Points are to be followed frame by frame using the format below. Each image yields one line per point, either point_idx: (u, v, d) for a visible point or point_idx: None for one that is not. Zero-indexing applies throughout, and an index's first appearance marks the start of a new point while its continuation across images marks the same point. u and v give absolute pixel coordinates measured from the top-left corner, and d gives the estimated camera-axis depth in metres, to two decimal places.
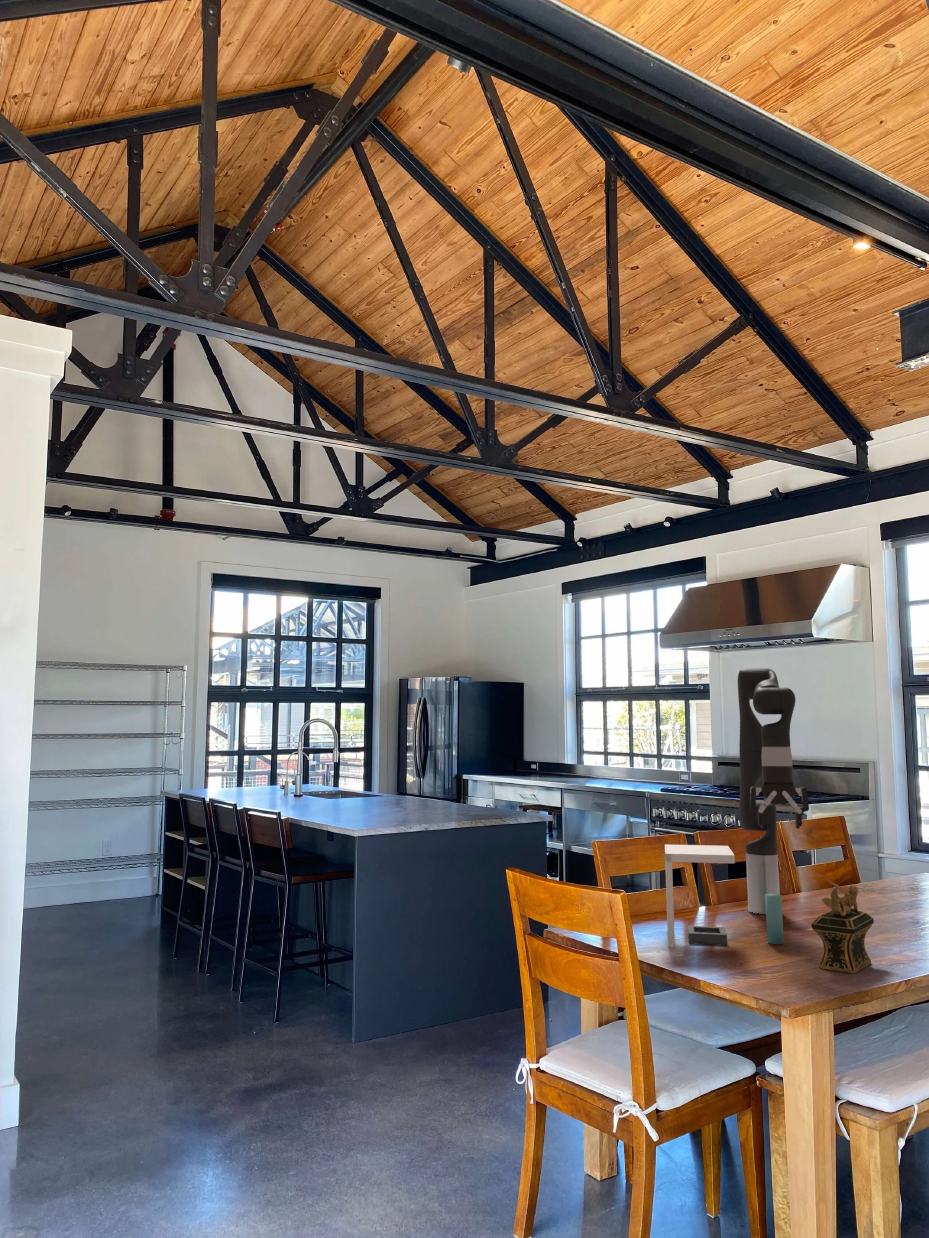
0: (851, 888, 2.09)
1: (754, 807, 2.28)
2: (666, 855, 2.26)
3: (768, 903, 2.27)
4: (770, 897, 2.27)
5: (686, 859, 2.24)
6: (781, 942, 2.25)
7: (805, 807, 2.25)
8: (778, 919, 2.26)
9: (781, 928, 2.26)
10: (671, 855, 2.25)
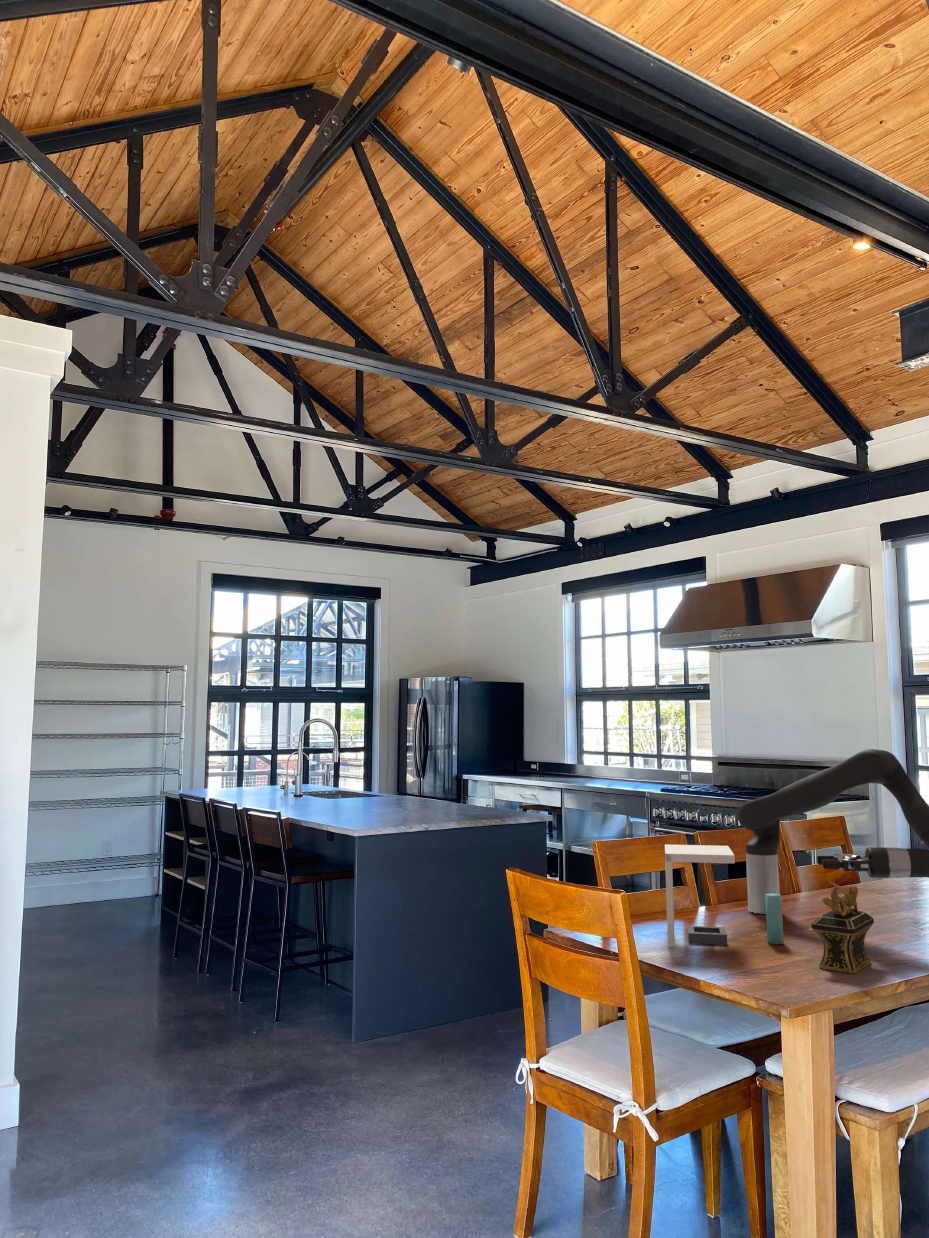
0: (851, 888, 2.09)
1: None
2: (666, 855, 2.26)
3: (768, 903, 2.27)
4: (770, 897, 2.27)
5: (686, 859, 2.24)
6: (781, 942, 2.25)
7: None
8: (778, 919, 2.26)
9: (781, 928, 2.26)
10: (671, 855, 2.25)
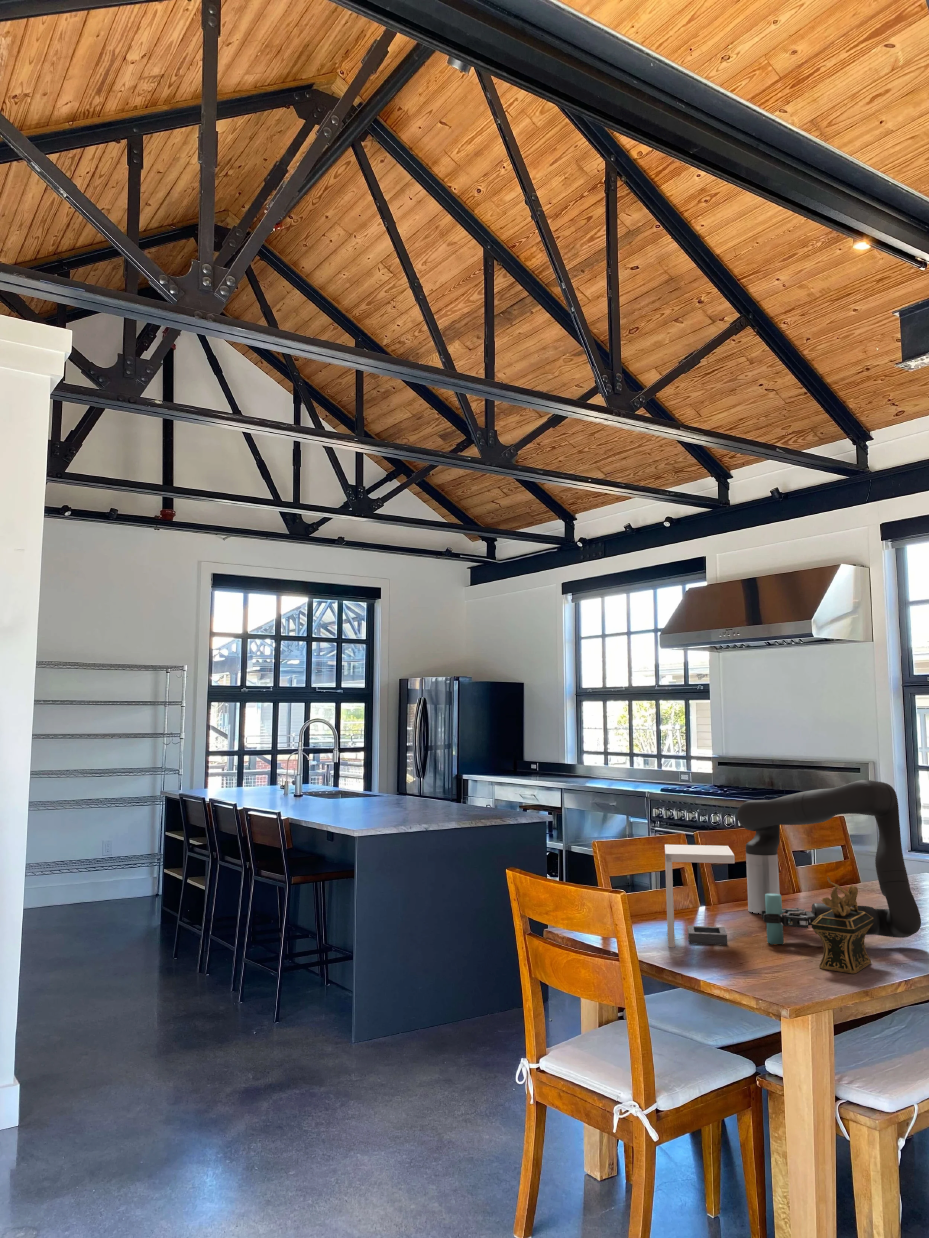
0: (851, 888, 2.09)
1: None
2: (666, 855, 2.26)
3: (768, 903, 2.27)
4: (770, 897, 2.27)
5: (686, 859, 2.24)
6: (781, 942, 2.25)
7: None
8: None
9: (781, 928, 2.26)
10: (671, 855, 2.25)
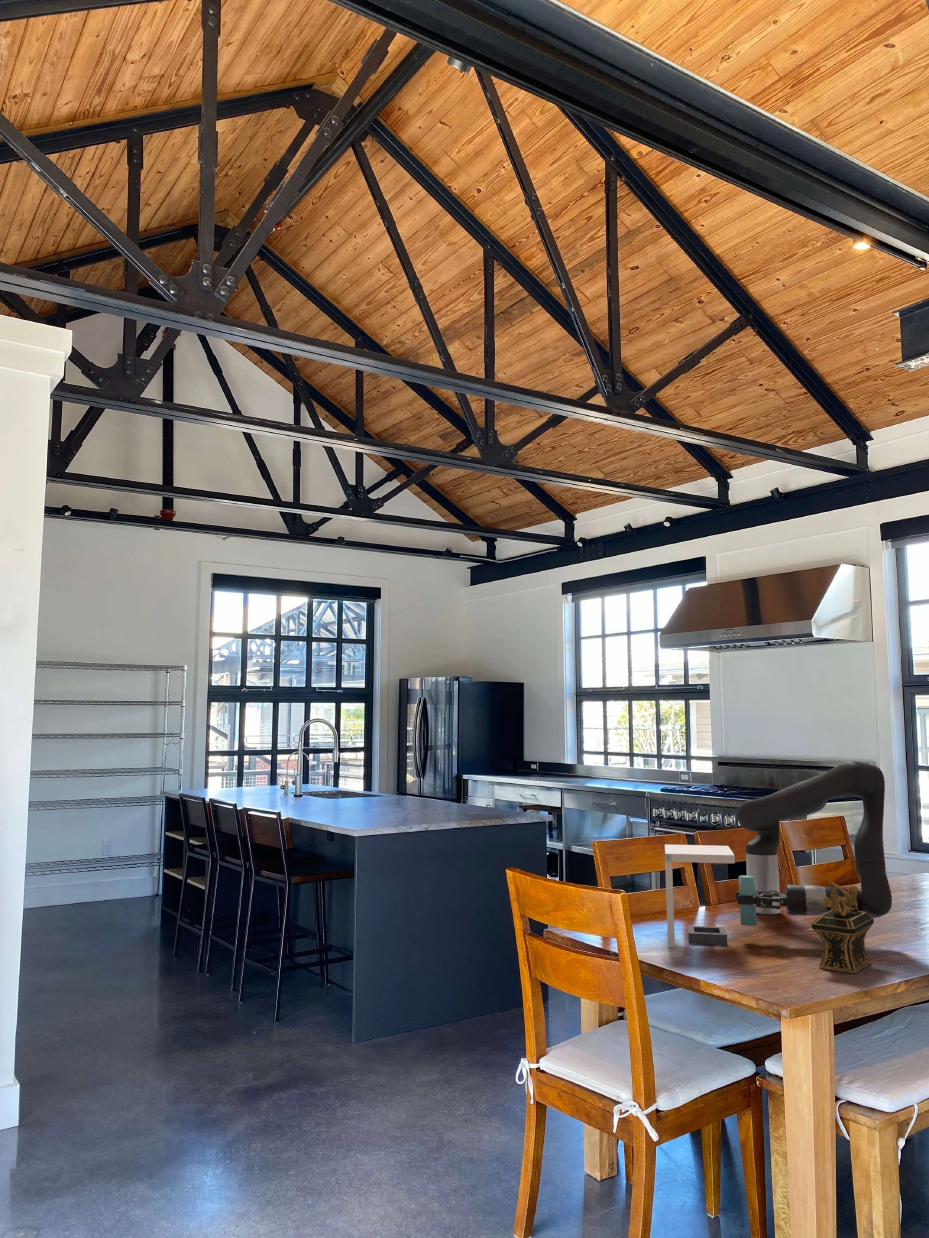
0: (851, 888, 2.09)
1: None
2: (666, 855, 2.26)
3: (741, 885, 2.29)
4: (743, 879, 2.29)
5: (686, 859, 2.24)
6: (754, 923, 2.27)
7: None
8: None
9: (754, 909, 2.28)
10: (671, 855, 2.25)
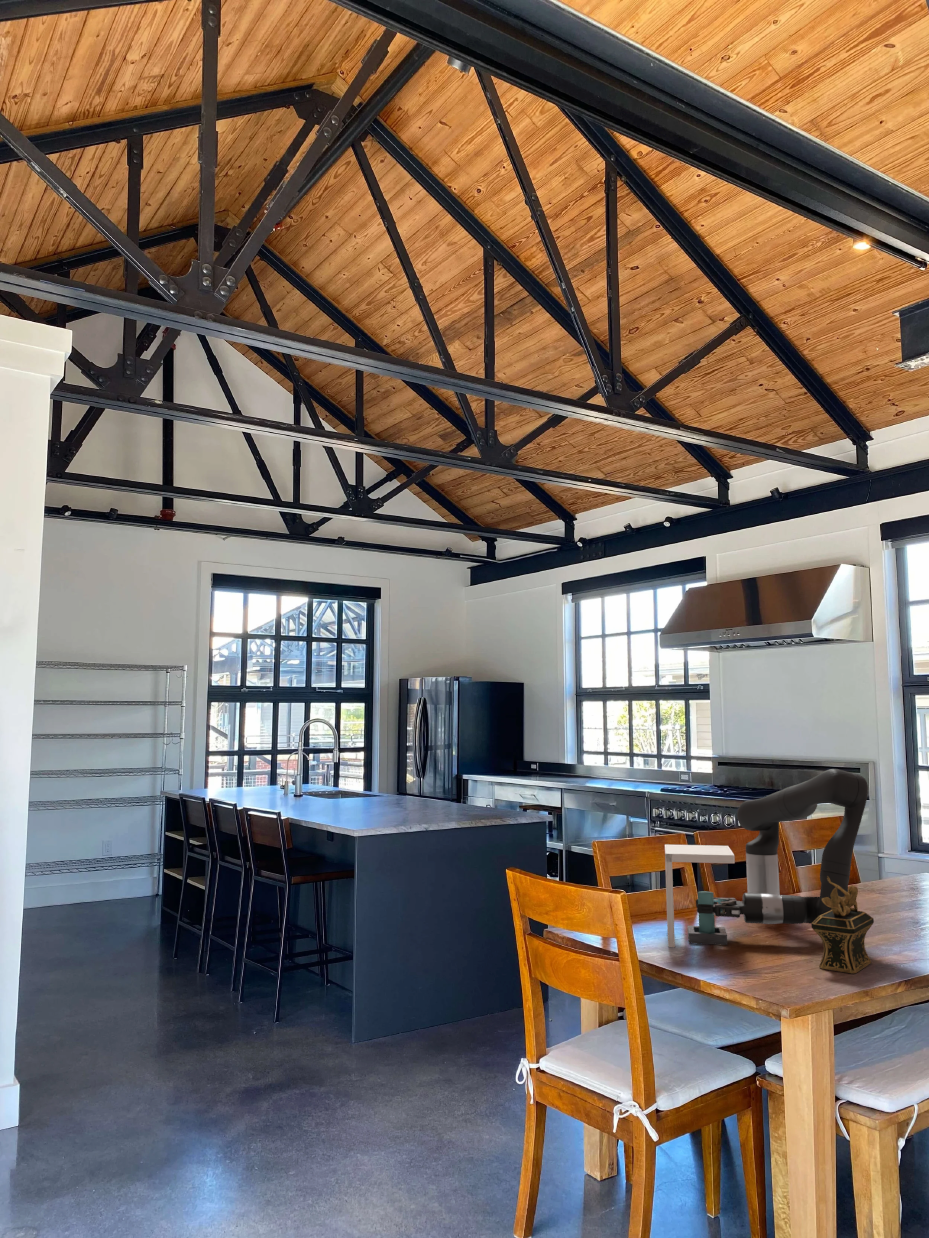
0: (851, 888, 2.09)
1: None
2: (666, 855, 2.26)
3: (700, 901, 2.31)
4: (702, 895, 2.30)
5: (686, 859, 2.24)
6: None
7: None
8: (710, 917, 2.29)
9: (712, 925, 2.29)
10: (671, 855, 2.25)
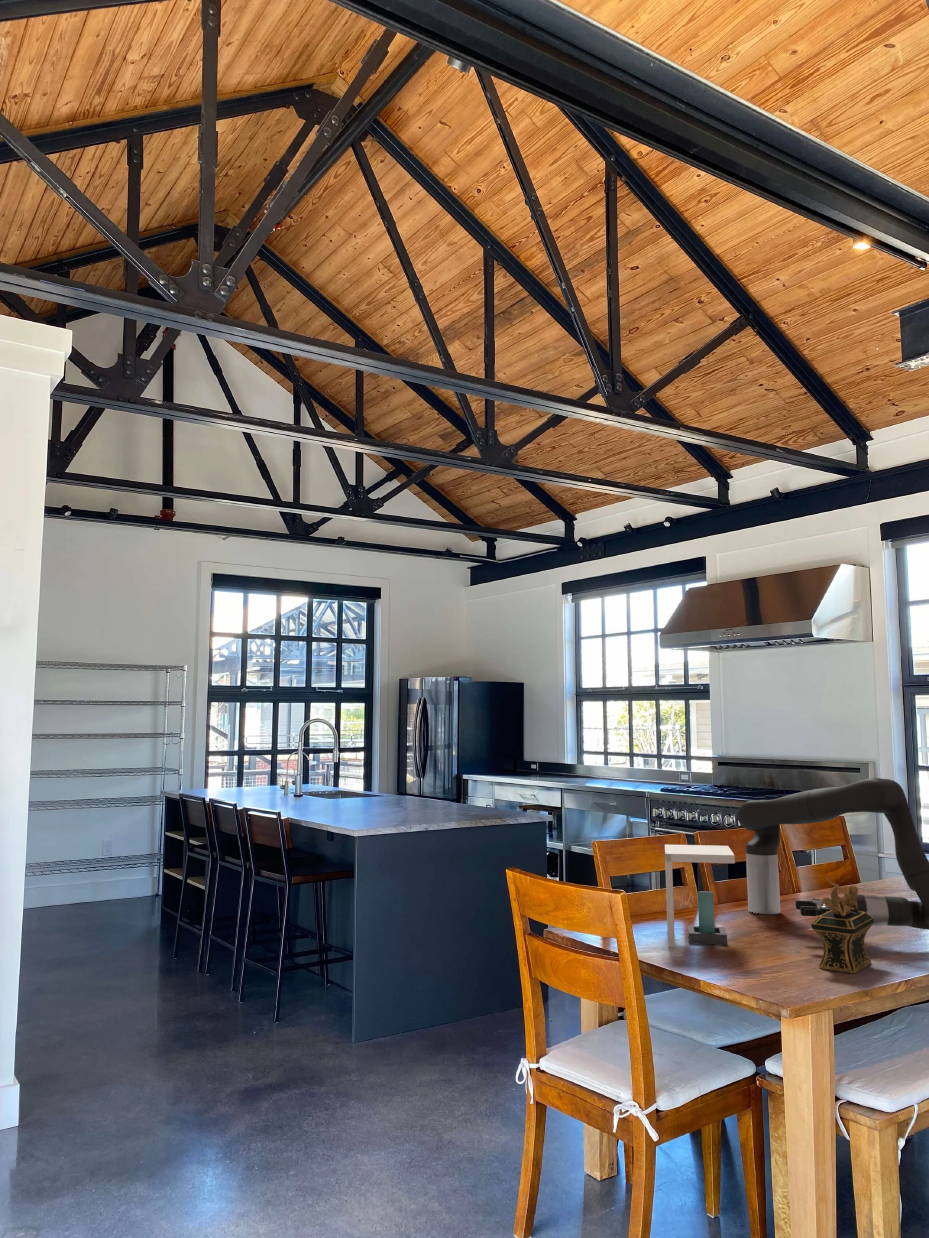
0: (851, 888, 2.09)
1: None
2: (666, 855, 2.26)
3: (700, 901, 2.31)
4: (702, 895, 2.30)
5: (686, 859, 2.24)
6: None
7: (816, 908, 2.31)
8: (709, 916, 2.29)
9: (712, 925, 2.29)
10: (671, 855, 2.25)
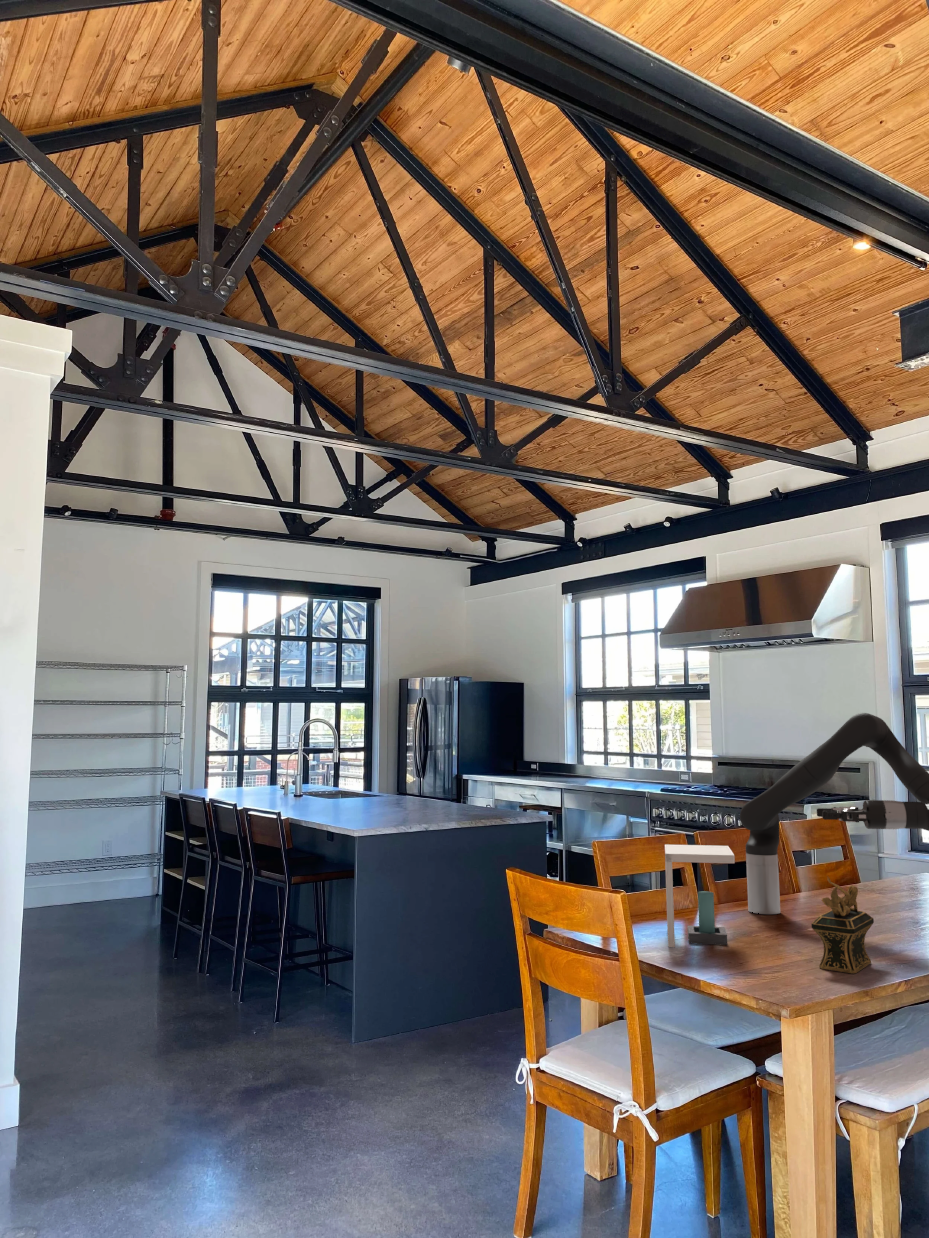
0: (851, 888, 2.09)
1: None
2: (666, 855, 2.26)
3: (700, 901, 2.30)
4: (702, 895, 2.30)
5: (686, 859, 2.24)
6: None
7: None
8: (710, 917, 2.29)
9: (713, 925, 2.29)
10: (671, 855, 2.25)
